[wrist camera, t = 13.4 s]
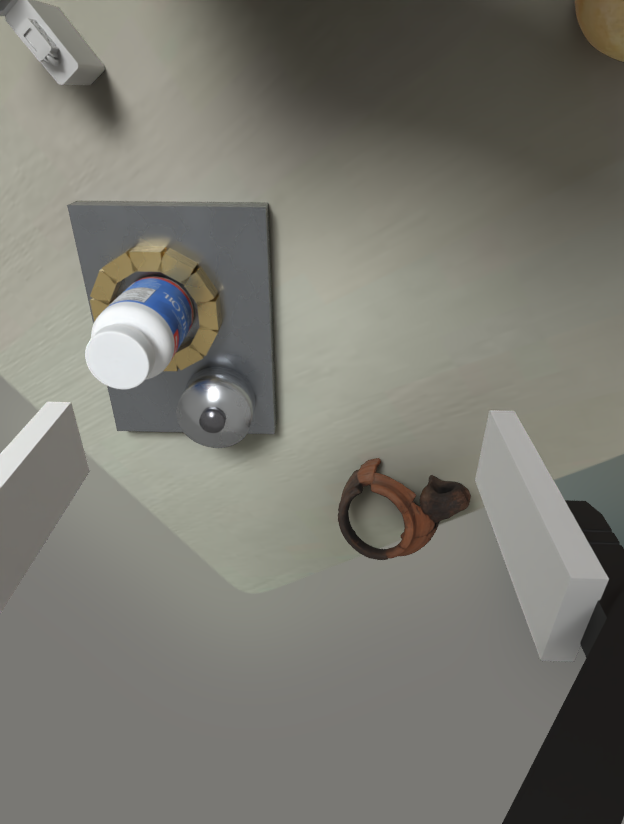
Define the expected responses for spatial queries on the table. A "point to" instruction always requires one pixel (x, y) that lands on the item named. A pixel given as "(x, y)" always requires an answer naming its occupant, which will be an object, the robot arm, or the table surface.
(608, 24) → the onion
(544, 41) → the table surface
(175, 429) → the carrier plate
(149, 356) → the pill bottle
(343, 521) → the pottery mug
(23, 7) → the lighter
